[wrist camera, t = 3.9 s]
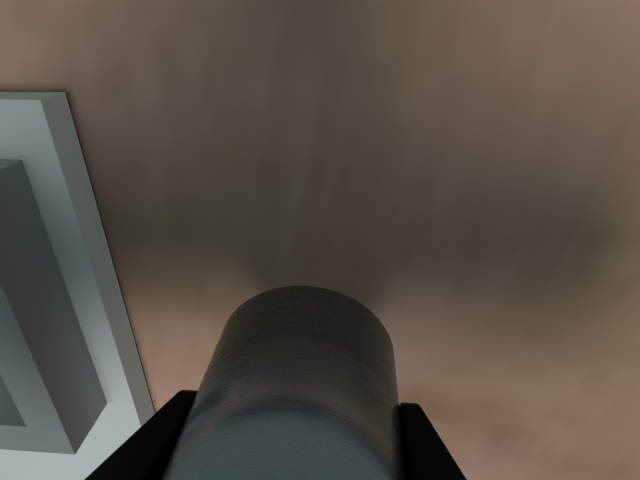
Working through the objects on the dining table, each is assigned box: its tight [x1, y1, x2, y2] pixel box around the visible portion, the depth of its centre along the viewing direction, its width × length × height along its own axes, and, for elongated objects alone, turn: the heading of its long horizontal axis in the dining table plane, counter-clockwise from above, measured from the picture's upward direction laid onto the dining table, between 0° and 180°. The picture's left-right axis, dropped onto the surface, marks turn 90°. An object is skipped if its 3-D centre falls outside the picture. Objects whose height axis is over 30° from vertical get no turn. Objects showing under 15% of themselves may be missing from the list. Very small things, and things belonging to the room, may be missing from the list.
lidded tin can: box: [161, 286, 406, 480], centre depth 8 cm, size 4×4×6 cm
